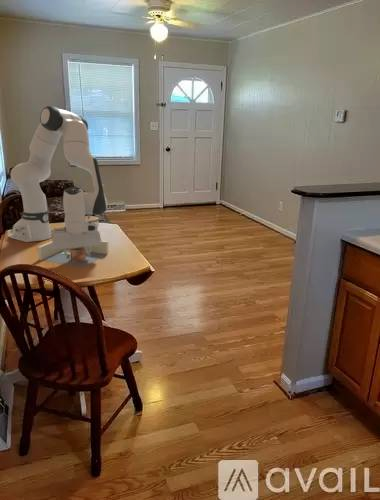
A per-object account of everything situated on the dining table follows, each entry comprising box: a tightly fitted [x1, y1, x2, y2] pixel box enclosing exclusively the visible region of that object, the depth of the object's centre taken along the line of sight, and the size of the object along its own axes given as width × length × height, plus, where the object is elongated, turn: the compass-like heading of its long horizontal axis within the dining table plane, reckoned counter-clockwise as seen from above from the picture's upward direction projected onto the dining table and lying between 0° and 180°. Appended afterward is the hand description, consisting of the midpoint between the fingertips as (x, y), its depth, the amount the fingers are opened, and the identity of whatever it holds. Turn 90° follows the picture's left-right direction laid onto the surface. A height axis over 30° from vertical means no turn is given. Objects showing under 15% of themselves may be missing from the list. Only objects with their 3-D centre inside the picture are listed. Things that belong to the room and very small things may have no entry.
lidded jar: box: [85, 214, 100, 228], centre depth 211 cm, size 11×11×9 cm
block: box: [70, 247, 86, 263], centre depth 166 cm, size 6×6×6 cm
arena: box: [37, 239, 110, 268], centre depth 171 cm, size 23×20×7 cm
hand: (78, 256), depth 166 cm, fingers open, 7 cm apart
